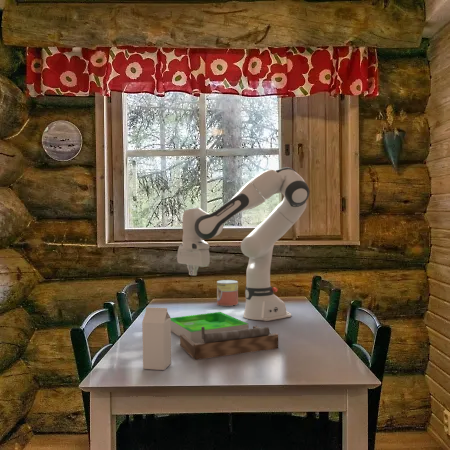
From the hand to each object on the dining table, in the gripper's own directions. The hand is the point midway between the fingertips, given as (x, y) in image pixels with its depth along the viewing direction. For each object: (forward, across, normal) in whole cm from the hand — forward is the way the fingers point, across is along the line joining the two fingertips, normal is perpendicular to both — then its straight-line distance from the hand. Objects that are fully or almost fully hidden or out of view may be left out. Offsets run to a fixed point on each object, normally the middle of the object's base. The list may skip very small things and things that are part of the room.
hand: (192, 275), depth 206 cm
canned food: (+21, -20, +37) cm, 47 cm away
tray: (+22, +17, -6) cm, 28 cm away
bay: (+21, +39, -12) cm, 46 cm away
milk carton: (+21, +40, -43) cm, 62 cm away
